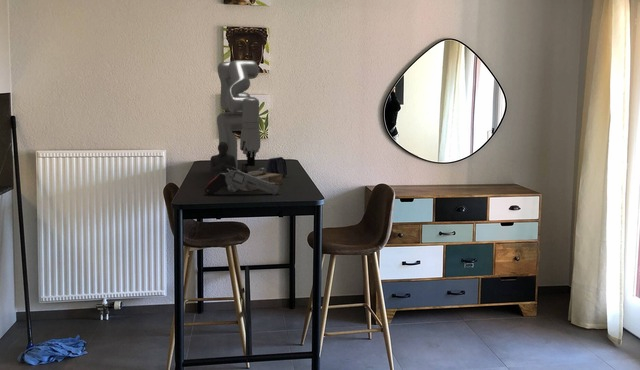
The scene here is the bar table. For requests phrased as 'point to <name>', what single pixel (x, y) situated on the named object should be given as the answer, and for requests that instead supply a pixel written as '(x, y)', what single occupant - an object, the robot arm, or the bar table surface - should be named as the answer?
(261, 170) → the bar
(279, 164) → the rock
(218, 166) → the figurine
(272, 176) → the wooden latch block
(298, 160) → the bar table surface
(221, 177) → the revolver
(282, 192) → the bar table surface
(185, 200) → the bar table surface
